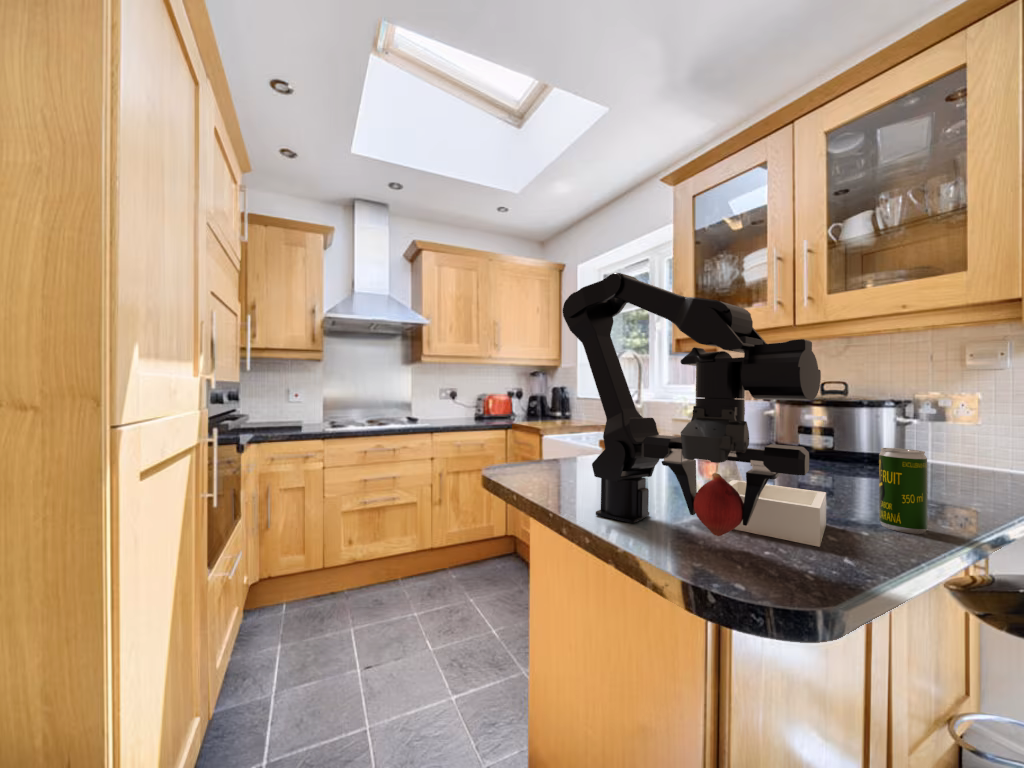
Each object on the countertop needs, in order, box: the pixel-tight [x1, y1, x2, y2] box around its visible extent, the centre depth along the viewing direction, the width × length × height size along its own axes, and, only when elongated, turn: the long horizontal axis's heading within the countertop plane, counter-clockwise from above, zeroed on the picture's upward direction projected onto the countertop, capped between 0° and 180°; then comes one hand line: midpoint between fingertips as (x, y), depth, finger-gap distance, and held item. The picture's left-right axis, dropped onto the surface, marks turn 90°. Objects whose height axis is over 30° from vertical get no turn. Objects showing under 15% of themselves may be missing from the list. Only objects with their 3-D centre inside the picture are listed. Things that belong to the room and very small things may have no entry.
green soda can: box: [878, 447, 929, 535], centre depth 63 cm, size 5×5×12 cm
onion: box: [694, 472, 744, 537], centre depth 53 cm, size 6×6×8 cm
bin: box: [728, 479, 827, 548], centre depth 63 cm, size 13×13×5 cm
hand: (718, 519), depth 53 cm, fingers closed on onion, 6 cm apart
